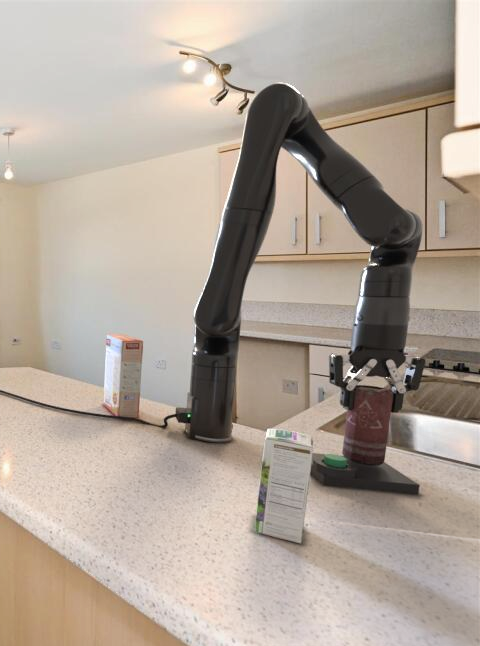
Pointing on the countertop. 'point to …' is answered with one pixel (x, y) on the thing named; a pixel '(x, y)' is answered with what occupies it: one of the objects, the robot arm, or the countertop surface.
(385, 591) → the countertop surface
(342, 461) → the tare button
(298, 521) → the syrup box
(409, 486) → the scale
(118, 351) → the cracker box
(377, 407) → the can
